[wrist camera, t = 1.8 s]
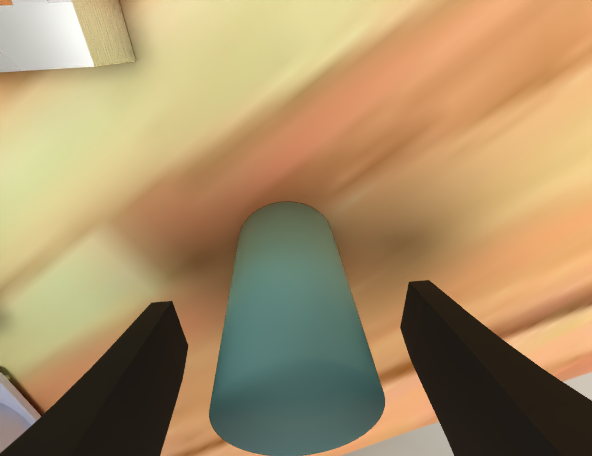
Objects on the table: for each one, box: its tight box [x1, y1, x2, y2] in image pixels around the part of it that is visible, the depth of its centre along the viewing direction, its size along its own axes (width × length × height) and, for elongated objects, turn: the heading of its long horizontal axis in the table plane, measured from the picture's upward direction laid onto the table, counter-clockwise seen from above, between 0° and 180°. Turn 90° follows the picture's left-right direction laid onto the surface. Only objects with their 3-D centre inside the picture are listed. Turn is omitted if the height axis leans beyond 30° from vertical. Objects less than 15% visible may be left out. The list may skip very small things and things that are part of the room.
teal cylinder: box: [209, 202, 385, 456], centre depth 10 cm, size 4×4×7 cm
